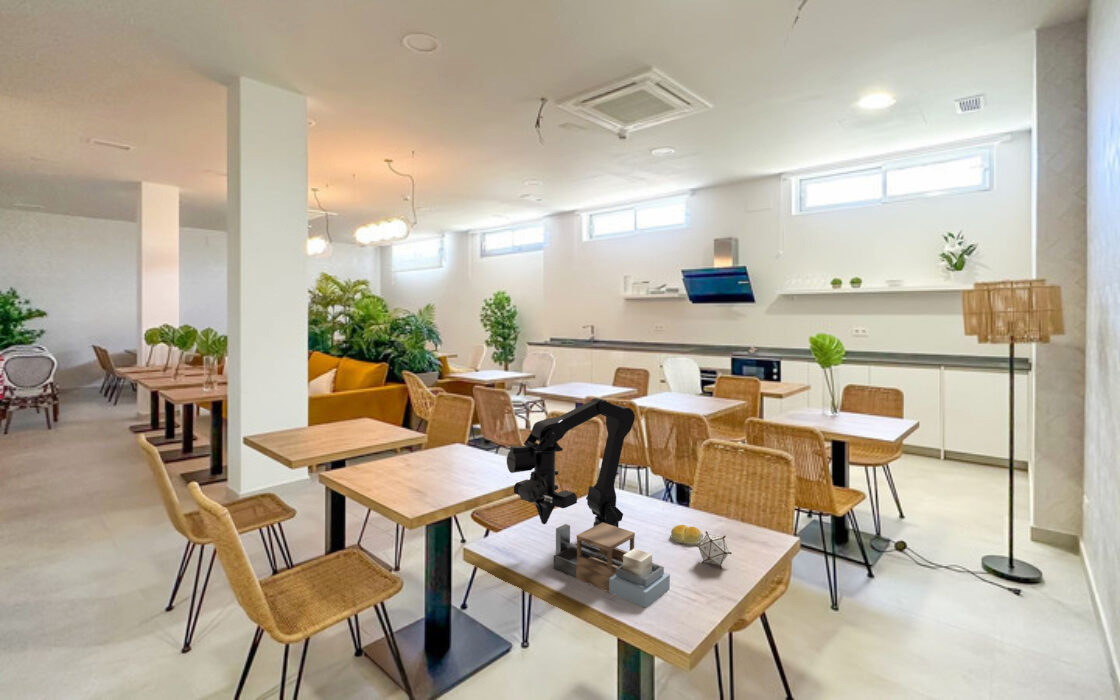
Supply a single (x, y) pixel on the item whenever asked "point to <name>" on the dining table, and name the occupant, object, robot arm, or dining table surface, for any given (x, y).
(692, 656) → the dining table surface
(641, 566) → the block
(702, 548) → the game die
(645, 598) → the pad
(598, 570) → the tunnel
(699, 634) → the dining table surface
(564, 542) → the slider
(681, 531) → the bread roll
